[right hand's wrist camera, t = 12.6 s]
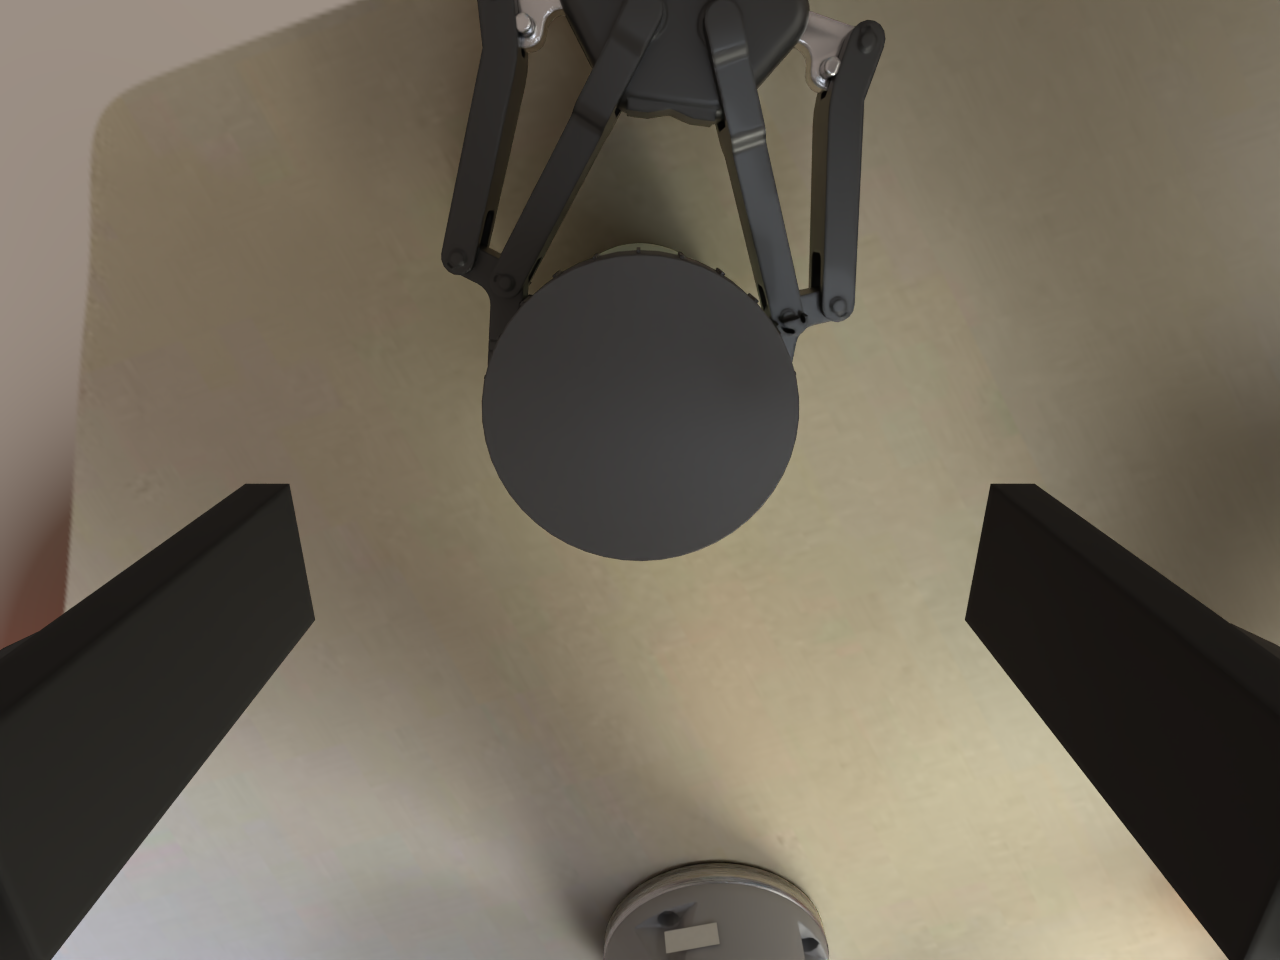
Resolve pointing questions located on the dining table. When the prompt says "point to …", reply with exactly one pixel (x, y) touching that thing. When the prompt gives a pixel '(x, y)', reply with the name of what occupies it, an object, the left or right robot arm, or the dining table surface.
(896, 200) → the dining table surface
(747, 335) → the lid
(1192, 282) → the dining table surface
